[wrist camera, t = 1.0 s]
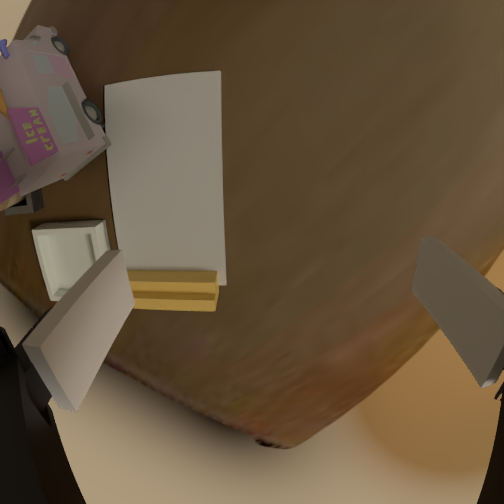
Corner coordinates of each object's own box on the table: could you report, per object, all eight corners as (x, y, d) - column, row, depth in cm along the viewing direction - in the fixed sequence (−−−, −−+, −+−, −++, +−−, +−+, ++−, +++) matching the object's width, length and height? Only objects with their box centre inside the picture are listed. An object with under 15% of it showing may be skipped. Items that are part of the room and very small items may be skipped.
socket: (9, 169, 33) (-2, 172, 31) (37, 162, 33) (27, 166, 31) (15, 210, 35) (5, 215, 33) (43, 207, 35) (33, 212, 33)
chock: (129, 270, 39) (116, 286, 34) (217, 271, 39) (213, 289, 34) (132, 289, 40) (121, 307, 36) (218, 291, 40) (215, 311, 36)
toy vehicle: (67, 25, 25) (-13, 6, 11) (124, 139, 32) (42, 161, 18) (23, 69, 27) (-57, 71, 14) (73, 179, 34) (-7, 217, 20)
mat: (106, 85, 30) (104, 85, 29) (221, 71, 29) (220, 70, 29) (126, 281, 40) (125, 283, 39) (226, 283, 40) (226, 285, 39)
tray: (43, 223, 36) (31, 230, 34) (105, 219, 36) (95, 227, 33) (59, 290, 41) (50, 300, 38) (119, 294, 41) (111, 305, 38)
